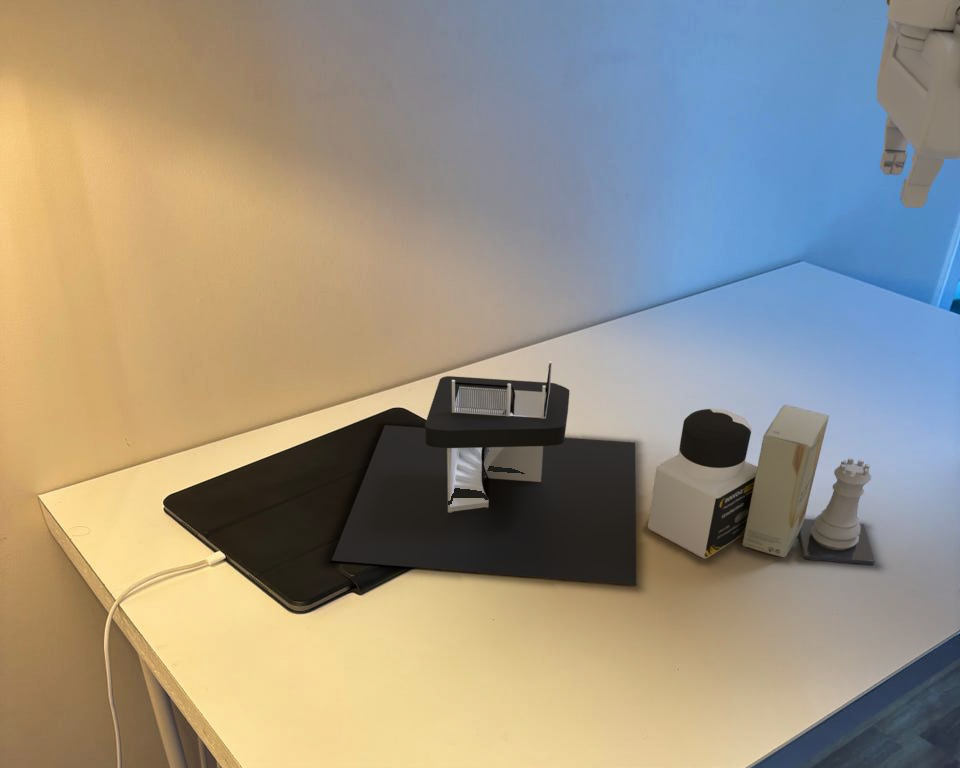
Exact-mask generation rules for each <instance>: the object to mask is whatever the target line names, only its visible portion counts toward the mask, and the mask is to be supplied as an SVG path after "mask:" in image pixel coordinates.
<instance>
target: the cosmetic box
mask: <svg viewBox="0 0 960 768" xmlns="http://www.w3.org/2000/svg"><path fill="white" fill-rule="evenodd" d="M779 409H780V410H779V411H778V412H777V414H776V415H775V417H774V418H773V420H772V421H771V423H770V424H769V426H768V428H767V429H766V431H765V432H764V434H763V437H762V442H761V448H760V452H759V456H758V462H757V472H756V477H755V482H754V488H753V493H752V498H751V503H750V508H749V513H748V518H747V523H746V528H745V533H744V535H743V538H742V543H741V545H742V546H743V547H745V548H748V549H749V548H750V549H752V550H756V551H759V552H762V553H765V554H769V555H772V556H773V555H774V556H776V557H780V558H786V557H787V555H788V553H789V552H790V550H791V549H792V547H793V546H794V543H795V541H796V540H797V538H798V536H799V532H800V529H801V527H802V525H803V521H804V519H805V517H806V513H807V509H808V505H809V500H810V496H811V491H812V489H813V483H814V479H815V476H816V471H817V468H818V463H819V460H820V455H821V452H822V446H823V443H824V438H825V434H826V430H827V428H828V427H827V426H828V422H829V418H830V415H829V414H825V413H822V412H818V411H814V410H813V411H812V410H809V409H805V408H801V407H796V406H793V405H789V404H783V405H782V406H781V408H779Z"/></svg>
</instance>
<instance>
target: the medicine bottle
mask: <svg viewBox="0 0 960 768" xmlns="http://www.w3.org/2000/svg"><path fill="white" fill-rule="evenodd" d="M751 435H752V426H751V425H750V422H749V421H748V420H747V419H746V418H745V417H743V416H742V415H740V414H738V413H736V412H733V411H729V410H727V409H723V408H703V409H698V410H696V411H694V412H692V413H690V414H689V415H687V416H686V417H685V418H684V420H683V423H682V430H681V436H680V441H679V448H678V454H677V455H675V456H673V457H671V458H669V459H667V460H665V461H663V462H662V463H659V464H658V465H657V466H656V468H655V474H654V481H653V487H652V495H651V501H650V507H649V514H648V515H649V516H648V522H647V528H648V530H650V531H651V532H654V533H655V534H657V535H659V536H661V537H662V538H664V539H666V540H668V541H670V542H672V543H674V544H675V545H678V546H679V547H681V548H682V549H685V550H687V551H688V552H690V553H692V554H694V555H696V556H698V557H700V558H702V559H704V560H705V559H708V558H709V557H711V556H713V555H715V554H716V553H717V552H720V550H722V549H724V548H725V547H727V546H728V545H730V544H731V543H733V542H734V541H737V540H738V539H739V538H741V537H742V536H744V533H745V528H746V523H747V518H748V513H749V508H750V503H751V498H752V493H753V488H754V482H755V477H756V472H757V467H758V465H754V464H753V463H750V462H748V461H746V460H747V453H748V450H749V444H750V440H751Z"/></svg>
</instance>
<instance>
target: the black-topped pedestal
mask: <svg viewBox="0 0 960 768" xmlns="http://www.w3.org/2000/svg"><path fill="white" fill-rule="evenodd" d="M552 363H553V362H552V361H548V369H547V370H548V371H547V379H546V382H545V381H532V380H531V381H529V380H514V379H499V378H483V377H469V376H456V375H455V376H454V375H453V376H452V375H447V376H443V377H441V378H440V379H439V381H438V384H437V387H436V389H435V393H434V396H433V398H432V402H431V404H430V408H429V411H428V414H427V417H426V419H425V423H424V427H417V426H404V425H389V424H384V426H383V429H382V431H381V433H380V437H379V438H378V441H377V444H376V447H375V448H374V452H373V453H372V457H371V459H370V461H369V464H368V466H367V470H366V472H365V475H364V477H363V479H362V481H361V484H360V486H359V490H358V493H357V495H356V497H355V499H354V502H353V504H352V507H351V510H350V513H349V515H348V518H347V520H346V523H345V525H344V528H343V530H342V532H341V535H340V537H339V540H338V542H337V545H336V548H335V550H334V552H333V556H332V558H331V562H343V563H345V562H346V563H357V564H368V565H369V564H370V565H380V566H381V565H382V566H395V567H404V568H405V567H406V568H418V569H419V568H420V569H432V570H443V571H456V572H468V573H480V574H481V573H482V574H491V575H492V574H494V575H504V576H505V575H506V576H519V577H530V578H541V579H543V578H544V579H552V580H553V579H554V580H565V581H567V580H569V581H580V582H591V583H605V584H616V585H617V584H618V585H627V586H628V585H629V586H637V502H636V501H637V497H636V494H637V493H636V489H637V487H636V484H637V483H636V481H637V480H636V442H634V441H621V440H606V439H605V440H604V439H590V438H578V437H577V438H576V437H566V429H567V423H568V422H567V421H568V415H569V414H568V413H569V405H570V394H571V393H570V389H569V388H567V387H565V386H563V385H561V384H558V383H555V382H551V381H552V380H551V379H552ZM489 466H494V467H502V468H512V469H515V470H518V471H520V472H523V473H525V474H521V473H507V472H493V471H487V470H488V468H489ZM455 488H460V489H470V490H477V491H482V493H484V494H485V495H486V496H487V497H488V500H485V499H484V498H453V501H452V504H450V505H448V501H450V500H451V496H452V494H453V493H454V489H455Z"/></svg>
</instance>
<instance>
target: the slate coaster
mask: <svg viewBox="0 0 960 768" xmlns="http://www.w3.org/2000/svg"><path fill="white" fill-rule="evenodd" d="M814 521H815V519H809V518H804V521H803V525H802V527H801V529H800V532H799V534H798V536H799V540H800V545H801V551H802V555H803V560H815V561H823V562H836V563H847V564H848V563H849V564H858V565H859V564H860V565H871V566H873V565H874V566H875V564H876V560H875V557H874V554H873V553H874V552H873V550H872V546H871V543H870V540H869V537H868V533H867V530H866V527H865V523H859V524H860V525H861V530H860V534H859V535H858V536H859V541H858V542H857V543H856V544H855V545H854V546H853V547H851V548H849V549H845V550H833V549H828V548H826V547H823V546H821V545H820V544H818V543H817V542H816V541H815V539H814V537H813V535H812V533H811V529H812V527H813V526H814Z"/></svg>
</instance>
